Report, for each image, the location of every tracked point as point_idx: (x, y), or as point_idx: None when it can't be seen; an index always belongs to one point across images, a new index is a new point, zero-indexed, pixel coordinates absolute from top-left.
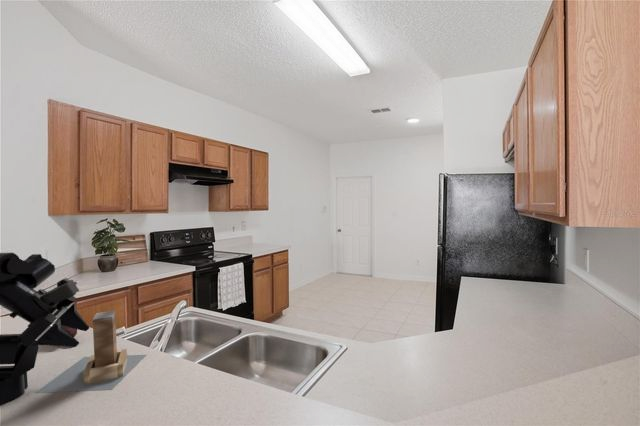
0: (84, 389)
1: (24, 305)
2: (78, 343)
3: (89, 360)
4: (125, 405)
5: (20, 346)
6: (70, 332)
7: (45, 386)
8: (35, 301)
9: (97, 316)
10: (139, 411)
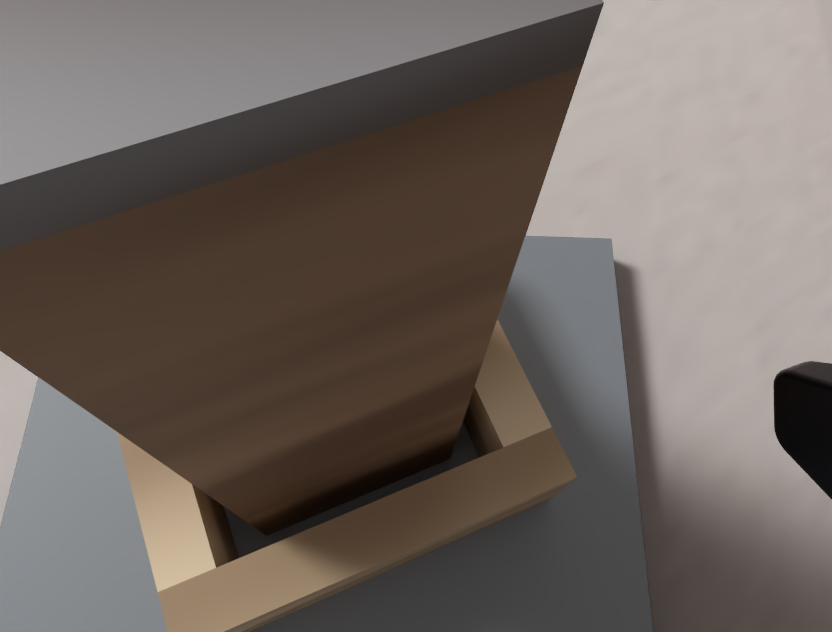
0: (615, 448)
1: None
2: (808, 363)
3: (309, 585)
4: (712, 124)
5: None
6: None
7: None
8: None
9: (304, 8)
10: (754, 39)
